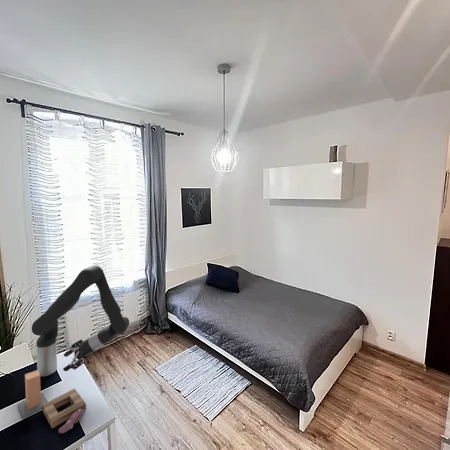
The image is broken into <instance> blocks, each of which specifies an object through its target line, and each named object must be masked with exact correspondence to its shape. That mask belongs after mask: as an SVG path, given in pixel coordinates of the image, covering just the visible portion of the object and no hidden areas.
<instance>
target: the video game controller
mask: <svg viewBox="0 0 450 450" xmlns="http://www.w3.org/2000/svg"><path fill="white" fill-rule="evenodd" d="M83 414H85V410H83V409H78V410H77V411H76V412H75V413H73V414H72V415H71V417H70V419H68V420H66V421H65V424H63V425H62V426H61V427H59V429H58V433H59V434H64V433H67V432H68V431H70V430H71V429H72V428H73V427H74V424H76V423H78V422H79V419H80V418H81V417H82V416H83Z"/></svg>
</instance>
